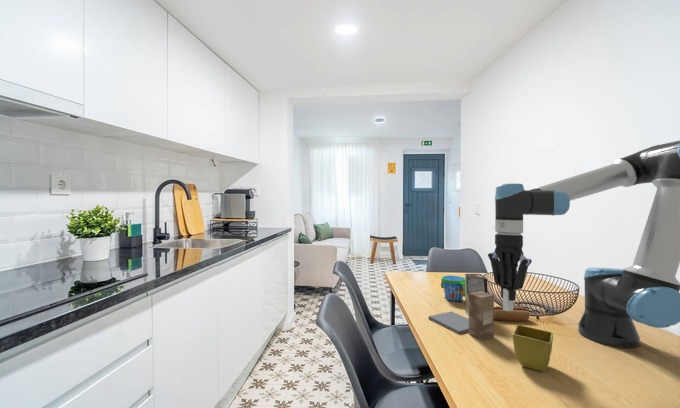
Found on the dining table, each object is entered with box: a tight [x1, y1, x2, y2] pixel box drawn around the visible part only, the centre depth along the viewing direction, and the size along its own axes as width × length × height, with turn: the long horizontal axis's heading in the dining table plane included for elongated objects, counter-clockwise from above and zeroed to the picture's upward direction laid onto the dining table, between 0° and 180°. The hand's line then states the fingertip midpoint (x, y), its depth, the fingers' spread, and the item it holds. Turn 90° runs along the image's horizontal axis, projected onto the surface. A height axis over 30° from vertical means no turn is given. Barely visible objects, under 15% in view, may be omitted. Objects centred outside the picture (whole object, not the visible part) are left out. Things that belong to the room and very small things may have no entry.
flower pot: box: [512, 324, 554, 372], centre depth 81 cm, size 9×9×9 cm
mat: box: [428, 310, 469, 335], centre depth 109 cm, size 15×12×1 cm
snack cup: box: [440, 275, 465, 302], centre depth 137 cm, size 16×10×10 cm
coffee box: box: [464, 273, 488, 317], centre depth 116 cm, size 9×6×16 cm
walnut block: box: [468, 291, 495, 341], centre depth 99 cm, size 5×6×14 cm
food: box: [494, 305, 531, 322], centre depth 113 cm, size 14×6×5 cm, turn 83°
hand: (508, 309), depth 90 cm, fingers closed
